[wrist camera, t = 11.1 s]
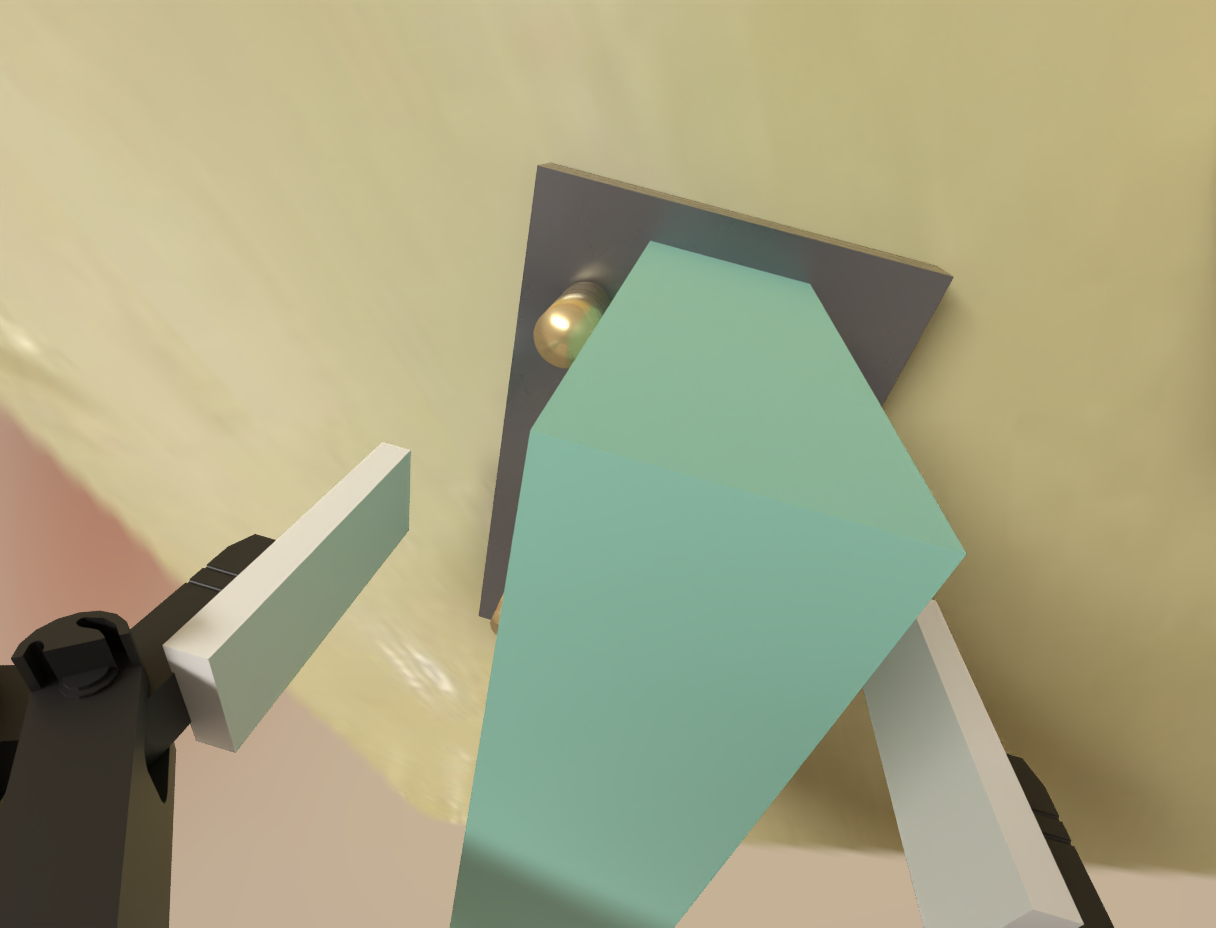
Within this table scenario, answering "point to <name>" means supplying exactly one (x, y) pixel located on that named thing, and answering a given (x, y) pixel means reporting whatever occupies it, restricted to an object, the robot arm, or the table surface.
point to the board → (685, 595)
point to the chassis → (633, 216)
